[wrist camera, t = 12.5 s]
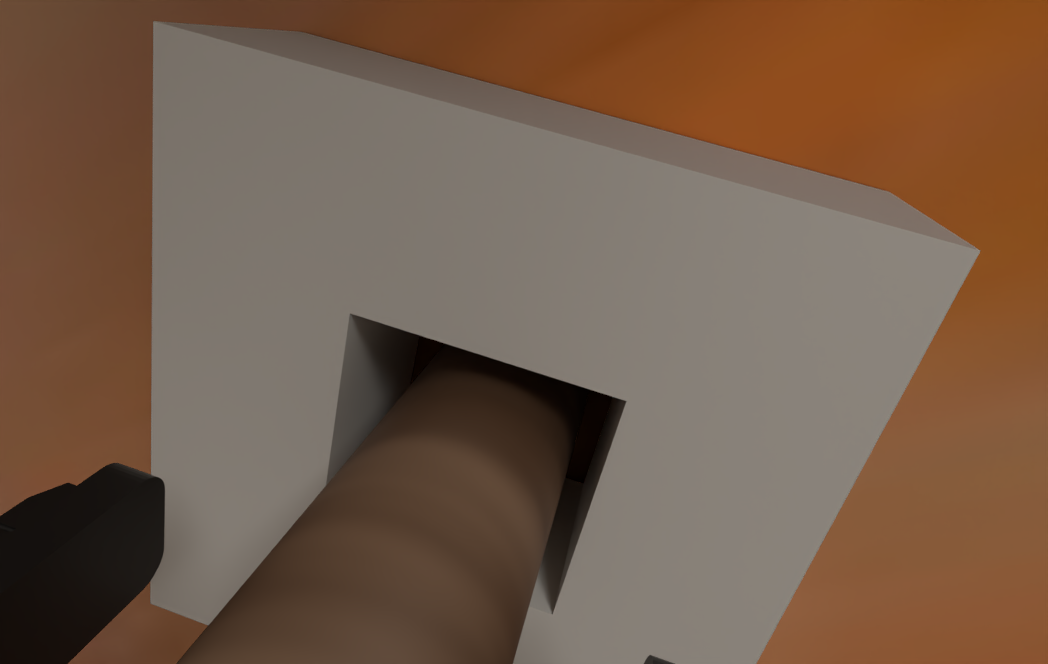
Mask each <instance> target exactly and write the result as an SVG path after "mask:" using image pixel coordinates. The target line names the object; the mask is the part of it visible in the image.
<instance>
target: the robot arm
mask: <svg viewBox="0 0 1048 664" xmlns="http://www.w3.org/2000/svg"><path fill="white" fill-rule="evenodd" d="M164 527H165V485H164V482H163V480H162V479H161V478H159V477H156V476H153V475H150V474H147V473H145V472H142V471H139V470H136V469H133V468H131V467H128V466H125V465H122V464H119V463H112V464H109V465H107V466H105V467H103V468H102V469H100V470H99V471H97V472H96V473H95V474H93V475H92V476H90V477H89V478H87V479H86V480H85V481H83V482H82V483H80V484H79V485H78V486H76V485H73V484H71V483H66V484H63V485H61V486H58V487H55V488H53V489H50V490H47V491H45V492H42V493H39V494H37V495H34V496H31V497H29V498H27V499H25V500H24V501H22V502H21V503H19V504H18V505H16V506H15V507H13V508H12V509H10V510H9V511H7V512H6V513H4V514H3V515H1V516H0V664H68V663H69V662H70V661H71V660H72V659H73V658H74V657H75V656H76V655H77V654H78V653H79V652H80V651H81V650H82V649H83V648H84V647H85V646H86V645H87V644H88V643H89V642H90V641H91V640H92V639H93V638H94V637H95V636H96V635H97V634H98V633H99V632H100V631H101V630H102V629H103V628H104V627H105V626H106V625H107V624H108V623H109V622H110V621H112V620H113V619H114V618H115V617H116V616H117V615H118V614H119V613H120V612H121V611H122V610H123V609H124V608H125V607H126V606H127V605H128V604H129V603H130V602H131V601H132V600H133V599H134V598H135V597H136V596H137V595H138V594H139V593H140V592H141V591H142V590H143V589H144V588H145V587H146V586H147V585H148V583H149V582H150V581H151V579H152V578H153V576H154V575H155V573H156V571H157V569H158V567H159V565H160V563H161V560H162V557H163V553H164ZM644 664H675V663H672V662H669V661H666V660H663V659H661V658H658V657H655V656H652V655H649V656H648V657H647V659H646V660H645V662H644Z"/></svg>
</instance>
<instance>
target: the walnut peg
mask: <svg viewBox="0 0 1048 664" xmlns="http://www.w3.org/2000/svg"><path fill="white" fill-rule="evenodd" d="M589 391H590V389H587V388H584V387H580V386H577V385H574V384H571V383H568V382H565V381H562V380H558V379H555V378H552V377H549V376H546V375H543V374H540V373H536V372H533V371H530V370H527V369H524V368H521V367H517V366H514V365H511V364H508V363H505V362H502V361H499V360H495V359H492V358H489V357H486V356H483V355H480V354H477V353H473V352H470V351H467V350H464V349H461V348H458V347H454V346H451V345H448V344H445V345H444V346H443V347H442V348H441V349H440V351H439V352H438V353H437V354H436V355H435V357H434V358H433V359H432V360H431V361H430V362H429V364H428V365H427V366H426V367H425V368H424V370H423V371H422V372H421V373H420V374H419V376H418V377H417V378H416V379H415V380H414V382H413V383H412V384H411V385H410V386H409V387H408V389H407V390H406V391H405V392H404V393H403V395H402V396H401V397H400V398H399V399H398V401H397V402H396V403H395V404H394V405H393V407H392V408H391V409H390V410H389V411H388V412H387V414H386V415H385V416H384V417H383V418H382V420H381V421H380V422H379V423H378V424H377V426H376V427H375V428H374V429H373V430H372V431H371V433H370V434H369V435H368V436H367V437H366V439H365V440H364V441H363V442H362V443H361V445H360V446H359V447H358V448H357V449H356V451H355V452H354V453H353V454H352V455H351V456H350V458H349V459H348V460H347V461H346V462H345V464H344V465H343V466H342V467H341V468H340V470H339V471H338V472H337V473H336V474H335V476H334V477H333V478H332V479H331V480H330V481H329V483H328V484H327V485H326V486H325V487H324V489H323V490H322V491H321V492H320V493H319V495H318V496H317V497H316V498H315V499H314V500H313V502H312V503H311V504H310V505H309V506H308V508H307V509H306V510H305V511H304V512H303V514H302V515H301V516H300V517H299V518H298V520H297V521H296V522H295V523H294V524H293V525H292V527H291V528H290V529H289V530H288V531H287V533H286V534H285V535H284V536H283V537H282V539H281V540H280V541H279V542H278V543H277V545H276V546H275V547H274V548H273V549H272V550H271V552H270V553H269V554H268V555H267V556H266V558H265V559H264V560H263V561H262V562H261V564H260V565H259V566H258V567H257V568H256V570H255V571H254V572H253V573H252V574H251V575H250V577H249V578H248V579H247V580H246V581H245V583H244V584H243V585H242V586H241V587H240V589H239V590H238V591H237V592H236V593H235V594H234V596H233V597H232V598H231V599H230V600H229V602H228V603H227V604H226V605H225V606H224V608H223V609H222V610H221V611H220V612H219V614H218V615H217V616H216V617H215V618H214V619H213V621H212V622H211V623H210V624H209V625H208V627H207V628H206V629H205V630H204V631H203V633H202V634H201V635H200V636H199V637H198V639H197V640H196V641H195V642H194V643H193V644H192V646H191V647H190V648H189V649H188V650H187V652H186V653H185V654H184V655H183V656H182V658H181V659H180V660H179V661H178V662H177V663H176V664H513V661H514V658H515V654H516V651H517V647H518V644H519V640H520V637H521V633H522V629H523V626H524V622H525V619H526V615H527V612H528V608H529V605H530V601H531V598H532V594H533V590H534V587H535V583H536V580H537V576H538V573H539V569H540V566H541V562H542V558H543V555H544V551H545V548H546V544H547V541H548V537H549V534H550V530H551V527H552V523H553V519H554V516H555V512H556V509H557V505H558V502H559V498H560V495H561V491H562V487H563V484H564V480H565V477H566V473H567V470H568V466H569V463H570V459H571V456H572V452H573V448H574V445H575V441H576V438H577V434H578V431H579V427H580V424H581V420H582V417H583V413H584V409H585V406H586V402H587V399H588V395H589Z"/></svg>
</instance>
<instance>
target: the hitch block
mask: <svg viewBox="0 0 1048 664" xmlns="http://www.w3.org/2000/svg"><path fill="white" fill-rule="evenodd" d="M979 253H980V250H979V249H977V248H976V247H974V246H972V245H971V244H969V243H968V242H966V241H965V240H963V239H962V238H960V237H958V236H957V235H955V234H954V233H952V232H951V231H949V230H948V229H946V228H944V227H943V226H941V225H940V224H938V223H937V222H935V221H934V220H932V219H931V218H929V217H927V216H926V215H924V214H923V213H921V212H920V211H918V210H917V209H915V208H913V207H912V206H910V205H909V204H907V203H906V202H904V201H903V200H901V199H899V198H898V197H896V196H895V195H893V194H892V193H890V192H888V191H884V190H880V189H877V188H873V187H869V186H866V185H862V184H858V183H855V182H851V181H847V180H844V179H840V178H836V177H833V176H829V175H825V174H822V173H818V172H814V171H811V170H807V169H803V168H800V167H796V166H792V165H789V164H785V163H781V162H778V161H774V160H770V159H767V158H763V157H759V156H756V155H752V154H748V153H745V152H741V151H737V150H734V149H730V148H726V147H723V146H719V145H715V144H711V143H708V142H704V141H700V140H697V139H693V138H689V137H686V136H682V135H678V134H675V133H671V132H667V131H664V130H660V129H656V128H653V127H649V126H645V125H642V124H638V123H634V122H631V121H627V120H623V119H620V118H616V117H612V116H609V115H605V114H601V113H598V112H594V111H590V110H587V109H583V108H579V107H576V106H572V105H568V104H565V103H561V102H557V101H554V100H550V99H546V98H543V97H539V96H535V95H532V94H528V93H524V92H521V91H517V90H513V89H510V88H506V87H502V86H499V85H495V84H491V83H488V82H484V81H480V80H477V79H473V78H469V77H466V76H462V75H458V74H455V73H451V72H447V71H444V70H440V69H436V68H433V67H429V66H425V65H422V64H418V63H414V62H411V61H407V60H403V59H400V58H396V57H392V56H389V55H385V54H381V53H377V52H374V51H370V50H366V49H363V48H359V47H355V46H352V45H348V44H344V43H341V42H337V41H333V40H330V39H326V38H322V37H319V36H315V35H311V34H308V33H304V32H297V31H284V30H270V29H256V28H242V27H228V26H214V25H201V24H187V23H173V22H159V21H153V191H152V391H151V475H153V476H156V477H159V478H161V479H162V480H163V482H164V485H165V527H164V553H163V557H162V560H161V563H160V565H159V567H158V569H157V571H156V573H155V575H154V576H153V578H152V579H151V592H150V604H153V605H156V606H158V607H161V608H164V609H166V610H169V611H171V612H174V613H177V614H179V615H182V616H185V617H187V618H190V619H193V620H195V621H198V622H201V623H203V624H206V625H209V624H210V623H211V622H212V621H213V619H214V618H215V617H216V616H217V615H218V614H219V612H220V611H221V610H222V609H223V608H224V606H225V605H226V604H227V603H228V602H229V600H230V599H231V598H232V597H233V596H234V594H235V593H236V592H237V591H238V590H239V589H240V587H241V586H242V585H243V584H244V583H245V581H246V580H247V579H248V578H249V577H250V575H251V574H252V573H253V572H254V571H255V570H256V568H257V567H258V566H259V565H260V564H261V562H262V561H263V560H264V559H265V558H266V556H267V555H268V554H269V553H270V552H271V550H272V549H273V548H274V547H275V546H276V545H277V543H278V542H279V541H280V540H281V539H282V537H283V536H284V535H285V534H286V533H287V531H288V530H289V529H290V528H291V527H292V525H293V524H294V523H295V522H296V521H297V520H298V518H299V517H300V516H301V515H302V514H303V512H304V511H305V510H306V509H307V508H308V506H309V505H310V504H311V503H312V502H313V500H314V499H315V498H316V497H317V496H318V495H319V493H320V492H321V491H322V490H323V489H324V487H325V486H326V485H327V484H328V483H329V481H330V480H331V479H332V478H333V477H334V476H335V474H336V473H337V472H338V471H339V470H340V468H341V467H342V466H343V465H344V464H345V462H346V461H347V460H348V459H349V458H350V456H351V455H352V454H353V453H354V452H355V451H356V449H357V448H358V447H359V446H360V445H361V443H362V442H363V441H364V440H365V439H366V437H367V436H368V435H369V434H370V433H371V431H372V430H373V429H374V428H375V427H376V426H377V424H378V423H379V422H380V421H381V420H382V418H383V417H384V416H385V415H386V414H387V412H388V411H389V410H390V409H391V408H392V407H393V405H394V404H395V403H396V402H397V401H398V399H399V398H400V397H401V396H402V395H403V393H404V392H405V391H406V390H407V389H408V387H409V386H410V383H411V378H412V373H413V368H414V362H415V357H416V352H417V346H418V341H419V336H423V337H426V338H429V339H432V340H436V341H439V342H442V343H445V344H448V345H451V346H454V347H458V348H461V349H464V350H467V351H470V352H473V353H477V354H480V355H483V356H486V357H489V358H492V359H495V360H499V361H502V362H505V363H508V364H511V365H514V366H517V367H521V368H524V369H527V370H530V371H533V372H536V373H540V374H543V375H546V376H549V377H552V378H555V379H558V380H562V381H565V382H568V383H571V384H574V385H577V386H580V387H584V388H587V389H590V390H593V391H596V392H599V393H603V394H606V395H609V396H612V400H611V403H610V406H609V409H608V412H607V415H606V418H605V421H604V424H603V427H602V430H601V433H600V436H599V439H598V442H597V445H596V448H595V451H594V454H593V457H592V460H591V463H590V466H589V469H588V472H587V475H586V477H585V480H584V483H580V482H577V481H574V480H571V479H568V478H565V480H564V484H563V487H562V491H561V495H560V498H559V502H558V505H557V509H556V512H555V516H554V519H553V523H552V527H551V530H550V534H549V537H548V541H547V544H546V548H545V551H544V555H543V558H542V562H541V566H540V569H539V573H538V576H537V580H536V583H535V587H534V590H533V594H532V598H531V601H530V605H529V608H528V612H527V615H526V619H525V622H524V626H523V629H522V633H521V637H520V640H519V644H518V647H517V651H516V654H515V658H514V661H513V664H644V662H645V660H646V659H647V657H648V656H649V655H652V656H655V657H658V658H661V659H663V660H666V661H669V662H672V663H675V664H756V663H757V661H758V659H759V658H760V656H761V654H762V652H763V650H764V648H765V647H766V645H767V643H768V641H769V639H770V637H771V636H772V634H773V632H774V630H775V628H776V626H777V625H778V623H779V621H780V619H781V617H782V615H783V613H784V612H785V610H786V608H787V606H788V604H789V602H790V601H791V599H792V597H793V595H794V593H795V591H796V590H797V588H798V586H799V584H800V582H801V580H802V578H803V577H804V575H805V573H806V571H807V569H808V567H809V566H810V564H811V562H812V560H813V558H814V556H815V555H816V553H817V551H818V549H819V547H820V545H821V543H822V542H823V540H824V538H825V536H826V534H827V532H828V531H829V529H830V527H831V525H832V523H833V521H834V520H835V518H836V516H837V514H838V512H839V510H840V509H841V507H842V505H843V503H844V501H845V499H846V497H847V496H848V494H849V492H850V490H851V488H852V486H853V485H854V483H855V481H856V479H857V477H858V475H859V474H860V472H861V470H862V468H863V466H864V464H865V462H866V461H867V459H868V457H869V455H870V453H871V451H872V450H873V448H874V446H875V444H876V442H877V440H878V439H879V437H880V435H881V433H882V431H883V429H884V428H885V426H886V424H887V422H888V420H889V418H890V416H891V415H892V413H893V411H894V409H895V407H896V405H897V404H898V402H899V400H900V398H901V396H902V394H903V393H904V391H905V389H906V387H907V385H908V383H909V381H910V380H911V378H912V376H913V374H914V372H915V370H916V369H917V367H918V365H919V363H920V361H921V359H922V358H923V356H924V354H925V352H926V350H927V348H928V346H929V345H930V343H931V341H932V339H933V337H934V335H935V334H936V332H937V330H938V328H939V326H940V324H941V323H942V321H943V319H944V317H945V315H946V313H947V312H948V310H949V308H950V306H951V304H952V302H953V300H954V299H955V297H956V295H957V293H958V291H959V289H960V288H961V286H962V284H963V282H964V280H965V278H966V277H967V275H968V273H969V271H970V269H971V267H972V265H973V264H974V262H975V260H976V258H977V256H978V254H979Z"/></svg>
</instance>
